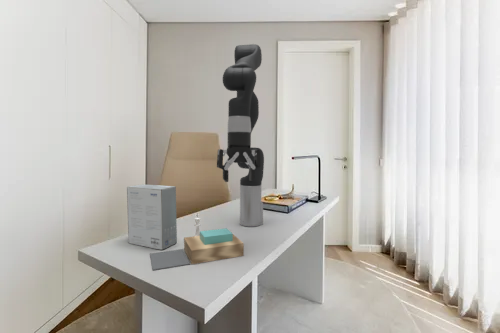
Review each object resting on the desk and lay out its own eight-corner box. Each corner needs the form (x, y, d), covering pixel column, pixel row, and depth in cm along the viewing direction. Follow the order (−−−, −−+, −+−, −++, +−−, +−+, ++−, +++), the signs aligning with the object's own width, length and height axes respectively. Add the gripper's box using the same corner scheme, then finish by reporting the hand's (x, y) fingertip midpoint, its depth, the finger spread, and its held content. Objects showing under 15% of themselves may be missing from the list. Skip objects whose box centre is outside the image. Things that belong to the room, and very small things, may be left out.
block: (226, 235, 91) (226, 228, 91) (232, 241, 86) (232, 233, 86) (199, 238, 88) (199, 231, 88) (204, 244, 82) (204, 237, 82)
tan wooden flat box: (230, 243, 95) (230, 231, 95) (243, 255, 84) (243, 243, 84) (184, 249, 89) (184, 237, 89) (191, 264, 78) (191, 250, 78)
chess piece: (191, 238, 100) (191, 211, 99) (205, 238, 100) (204, 211, 100) (189, 243, 95) (189, 214, 94) (203, 242, 96) (203, 214, 95)
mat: (182, 249, 89) (182, 248, 89) (189, 264, 78) (189, 263, 78) (149, 254, 85) (149, 253, 85) (152, 270, 74) (152, 269, 74)
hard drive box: (177, 243, 95) (177, 186, 93) (162, 250, 88) (161, 189, 86) (144, 236, 101) (143, 183, 100) (127, 243, 94) (125, 186, 93)
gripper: (255, 132, 94) (254, 179, 95) (214, 131, 89) (214, 180, 90) (264, 131, 87) (263, 181, 88) (221, 130, 82) (220, 183, 83)
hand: (238, 181), depth 89 cm, fingers open, 8 cm apart
